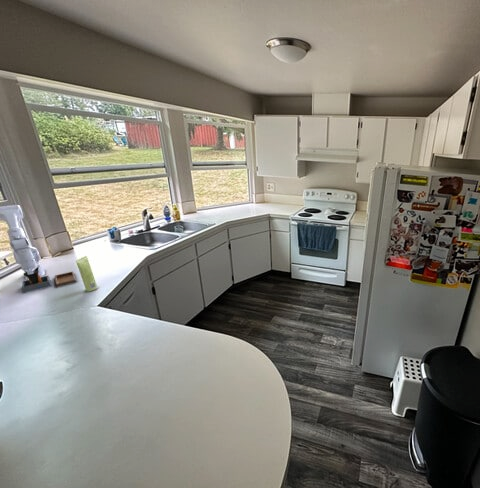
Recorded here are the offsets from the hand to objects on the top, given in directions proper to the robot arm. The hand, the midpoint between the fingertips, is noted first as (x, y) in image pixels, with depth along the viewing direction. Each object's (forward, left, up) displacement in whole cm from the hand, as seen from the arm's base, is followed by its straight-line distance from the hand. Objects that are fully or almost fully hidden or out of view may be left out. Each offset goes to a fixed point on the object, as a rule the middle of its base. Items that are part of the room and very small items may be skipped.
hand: (35, 281), depth 143 cm
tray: (+1, +12, -3) cm, 12 cm away
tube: (+25, +21, -3) cm, 33 cm away
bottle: (0, 0, -3) cm, 3 cm away
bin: (0, 0, -3) cm, 3 cm away
